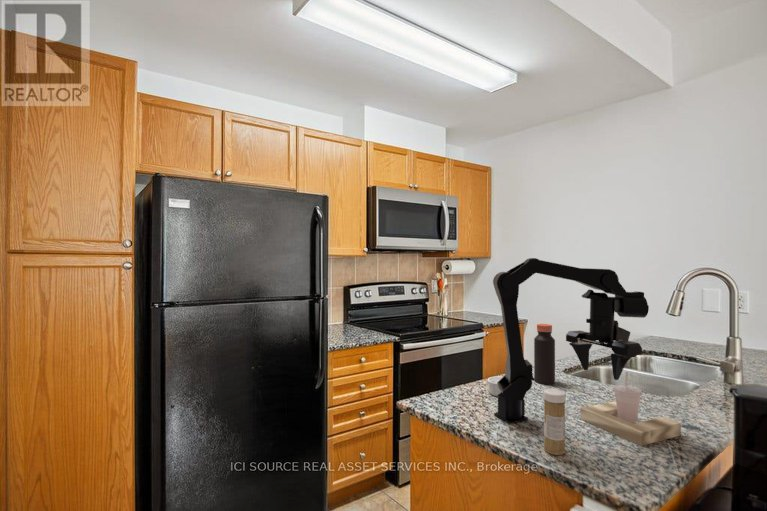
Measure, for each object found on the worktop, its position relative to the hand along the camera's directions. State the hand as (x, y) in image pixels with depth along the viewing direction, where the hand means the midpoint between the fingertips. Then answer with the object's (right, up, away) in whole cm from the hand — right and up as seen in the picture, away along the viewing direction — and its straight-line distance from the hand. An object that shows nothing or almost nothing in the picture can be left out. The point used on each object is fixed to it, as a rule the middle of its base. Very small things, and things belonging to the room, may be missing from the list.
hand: (600, 374), depth 107 cm
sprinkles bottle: (-19, -12, -17) cm, 28 cm away
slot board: (+5, -12, -3) cm, 14 cm away
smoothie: (+5, -13, -3) cm, 14 cm away
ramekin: (-20, -13, +22) cm, 32 cm away
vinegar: (-1, -13, +35) cm, 37 cm away
